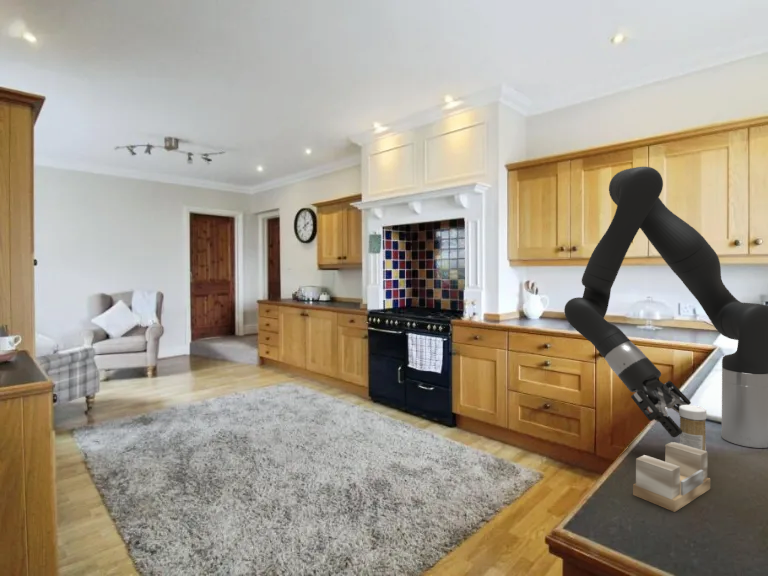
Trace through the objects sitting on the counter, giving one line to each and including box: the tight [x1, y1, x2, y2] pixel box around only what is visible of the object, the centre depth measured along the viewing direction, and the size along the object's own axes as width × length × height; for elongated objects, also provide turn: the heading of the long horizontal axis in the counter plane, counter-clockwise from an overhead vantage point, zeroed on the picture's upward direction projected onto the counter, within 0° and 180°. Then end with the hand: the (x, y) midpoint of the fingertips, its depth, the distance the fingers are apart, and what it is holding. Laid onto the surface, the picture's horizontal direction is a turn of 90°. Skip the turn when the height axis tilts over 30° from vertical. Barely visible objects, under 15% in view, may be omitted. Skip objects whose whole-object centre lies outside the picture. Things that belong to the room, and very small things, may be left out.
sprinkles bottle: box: [678, 404, 708, 451], centre depth 88 cm, size 5×5×14 cm
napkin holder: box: [632, 441, 711, 513], centre depth 81 cm, size 14×7×7 cm, turn 122°
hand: (688, 431), depth 89 cm, fingers open, 8 cm apart
